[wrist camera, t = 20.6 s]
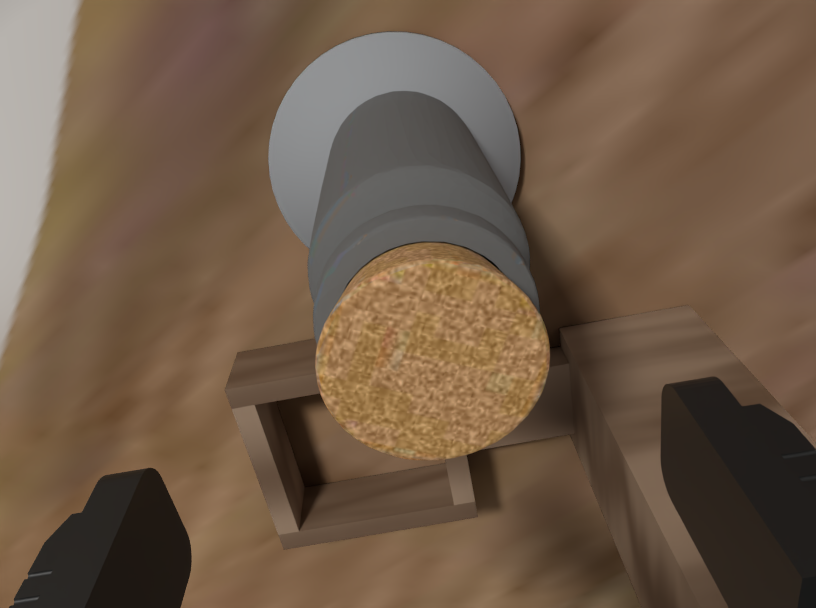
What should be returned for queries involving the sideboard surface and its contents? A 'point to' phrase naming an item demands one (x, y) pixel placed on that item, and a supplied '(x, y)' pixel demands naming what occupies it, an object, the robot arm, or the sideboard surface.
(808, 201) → the sideboard surface
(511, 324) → the bottle
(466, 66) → the mat
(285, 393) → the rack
